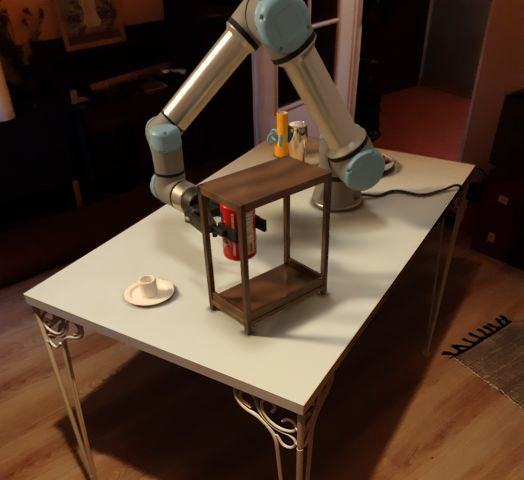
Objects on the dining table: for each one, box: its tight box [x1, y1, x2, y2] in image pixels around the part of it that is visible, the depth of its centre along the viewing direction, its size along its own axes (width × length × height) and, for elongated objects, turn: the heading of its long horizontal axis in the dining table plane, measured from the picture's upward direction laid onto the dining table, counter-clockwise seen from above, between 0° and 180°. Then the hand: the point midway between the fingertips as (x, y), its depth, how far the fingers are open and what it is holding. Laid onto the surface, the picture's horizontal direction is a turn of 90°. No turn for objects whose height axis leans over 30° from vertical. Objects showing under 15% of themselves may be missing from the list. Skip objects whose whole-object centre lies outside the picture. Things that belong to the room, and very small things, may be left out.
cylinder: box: [266, 110, 290, 158], centre depth 204 cm, size 12×10×15 cm
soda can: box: [220, 204, 258, 263], centre depth 129 cm, size 8×8×15 cm
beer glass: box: [287, 120, 309, 162], centre depth 194 cm, size 7×7×15 cm
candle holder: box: [123, 274, 175, 306], centre depth 135 cm, size 12×12×4 cm
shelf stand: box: [196, 155, 332, 336], centre depth 123 cm, size 14×24×30 cm, turn 130°
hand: (251, 231), depth 125 cm, fingers closed on soda can, 7 cm apart
